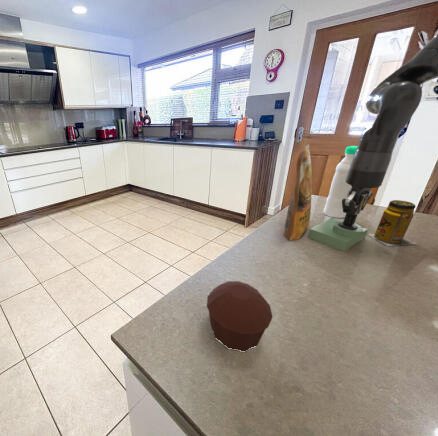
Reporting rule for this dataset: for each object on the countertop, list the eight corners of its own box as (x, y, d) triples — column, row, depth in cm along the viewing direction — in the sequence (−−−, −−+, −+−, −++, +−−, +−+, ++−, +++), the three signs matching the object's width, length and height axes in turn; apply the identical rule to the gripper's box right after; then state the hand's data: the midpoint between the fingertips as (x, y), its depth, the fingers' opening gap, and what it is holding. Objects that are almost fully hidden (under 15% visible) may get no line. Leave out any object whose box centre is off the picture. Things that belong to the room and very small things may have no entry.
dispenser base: (328, 226, 81) (332, 213, 79) (366, 238, 72) (372, 224, 70) (307, 237, 75) (311, 223, 73) (345, 252, 67) (351, 237, 65)
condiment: (366, 234, 75) (379, 199, 70) (393, 233, 74) (409, 197, 69) (387, 246, 68) (404, 208, 63) (417, 245, 68) (436, 207, 63)
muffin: (271, 366, 39) (282, 324, 35) (203, 352, 42) (206, 312, 38) (260, 312, 49) (268, 274, 45) (207, 304, 52) (209, 267, 48)
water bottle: (351, 218, 85) (375, 147, 74) (331, 219, 85) (353, 148, 75) (337, 210, 91) (357, 144, 81) (318, 211, 92) (337, 145, 81)
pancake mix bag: (273, 238, 76) (290, 150, 64) (290, 218, 88) (308, 140, 76) (296, 245, 71) (320, 151, 59) (311, 223, 83) (333, 141, 72)
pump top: (341, 226, 73) (343, 220, 72) (357, 231, 70) (359, 225, 69) (335, 230, 72) (337, 224, 71) (350, 235, 68) (353, 229, 67)
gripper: (375, 174, 57) (352, 236, 64) (396, 165, 62) (373, 223, 70) (339, 169, 63) (322, 226, 70) (362, 161, 68) (344, 215, 76)
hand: (348, 224), depth 70 cm, fingers closed
